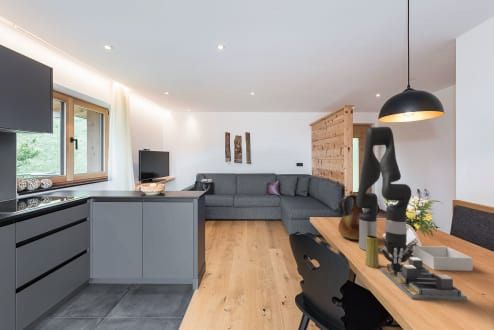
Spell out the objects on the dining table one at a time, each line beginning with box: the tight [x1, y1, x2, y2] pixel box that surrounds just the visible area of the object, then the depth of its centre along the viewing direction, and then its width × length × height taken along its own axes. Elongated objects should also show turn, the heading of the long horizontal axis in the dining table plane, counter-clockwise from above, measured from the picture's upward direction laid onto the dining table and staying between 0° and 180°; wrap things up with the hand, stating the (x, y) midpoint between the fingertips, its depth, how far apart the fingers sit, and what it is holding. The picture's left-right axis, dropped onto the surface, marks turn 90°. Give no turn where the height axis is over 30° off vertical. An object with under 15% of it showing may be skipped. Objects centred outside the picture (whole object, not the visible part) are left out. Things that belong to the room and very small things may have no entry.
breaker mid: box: [402, 265, 417, 278], centre depth 95 cm, size 3×4×6 cm
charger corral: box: [412, 245, 474, 272], centre depth 114 cm, size 15×18×6 cm
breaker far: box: [408, 256, 423, 269], centre depth 103 cm, size 3×4×6 cm
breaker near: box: [436, 274, 454, 290], centre depth 87 cm, size 3×4×6 cm
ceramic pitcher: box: [338, 193, 364, 241], centre depth 153 cm, size 20×20×30 cm
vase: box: [364, 235, 380, 269], centre depth 113 cm, size 6×6×14 cm
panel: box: [380, 263, 468, 302], centre depth 95 cm, size 22×20×4 cm
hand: (395, 271), depth 95 cm, fingers closed
